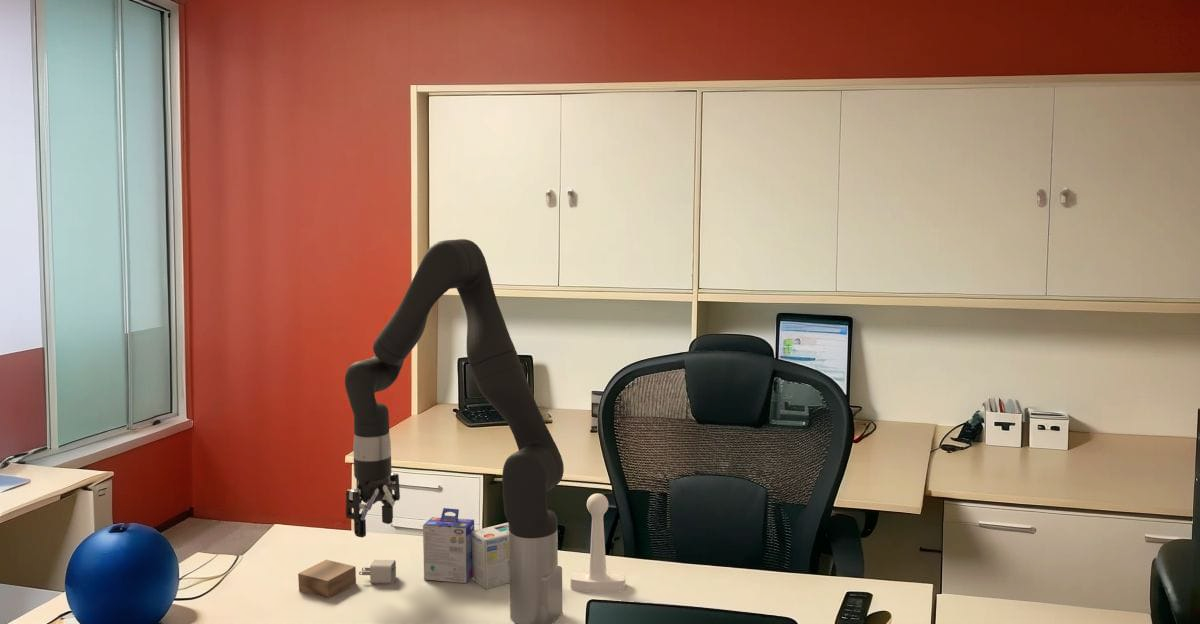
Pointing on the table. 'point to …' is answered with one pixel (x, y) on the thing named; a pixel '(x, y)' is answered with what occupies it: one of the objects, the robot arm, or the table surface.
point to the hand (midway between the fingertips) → (374, 529)
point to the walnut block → (327, 578)
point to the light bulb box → (491, 555)
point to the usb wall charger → (381, 571)
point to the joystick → (597, 555)
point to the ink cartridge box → (448, 548)
